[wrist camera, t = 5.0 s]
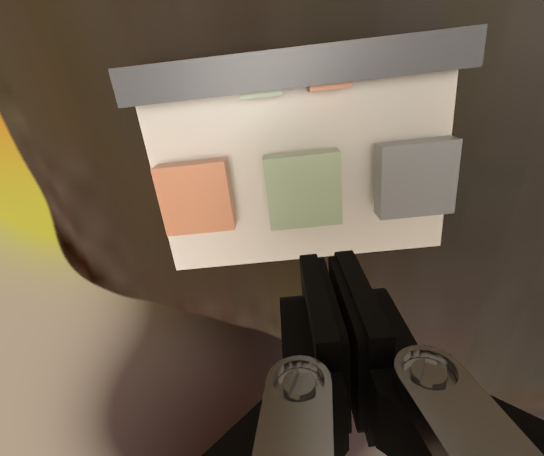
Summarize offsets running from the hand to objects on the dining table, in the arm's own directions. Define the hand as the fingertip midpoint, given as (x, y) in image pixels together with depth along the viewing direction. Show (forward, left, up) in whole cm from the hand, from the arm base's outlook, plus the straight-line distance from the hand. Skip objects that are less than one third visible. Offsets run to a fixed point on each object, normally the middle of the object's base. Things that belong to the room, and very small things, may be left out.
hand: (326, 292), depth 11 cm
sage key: (0, 0, -12) cm, 12 cm away
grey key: (-7, 0, -12) cm, 14 cm away
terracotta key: (+7, 0, -13) cm, 15 cm away
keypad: (0, 0, -16) cm, 16 cm away
